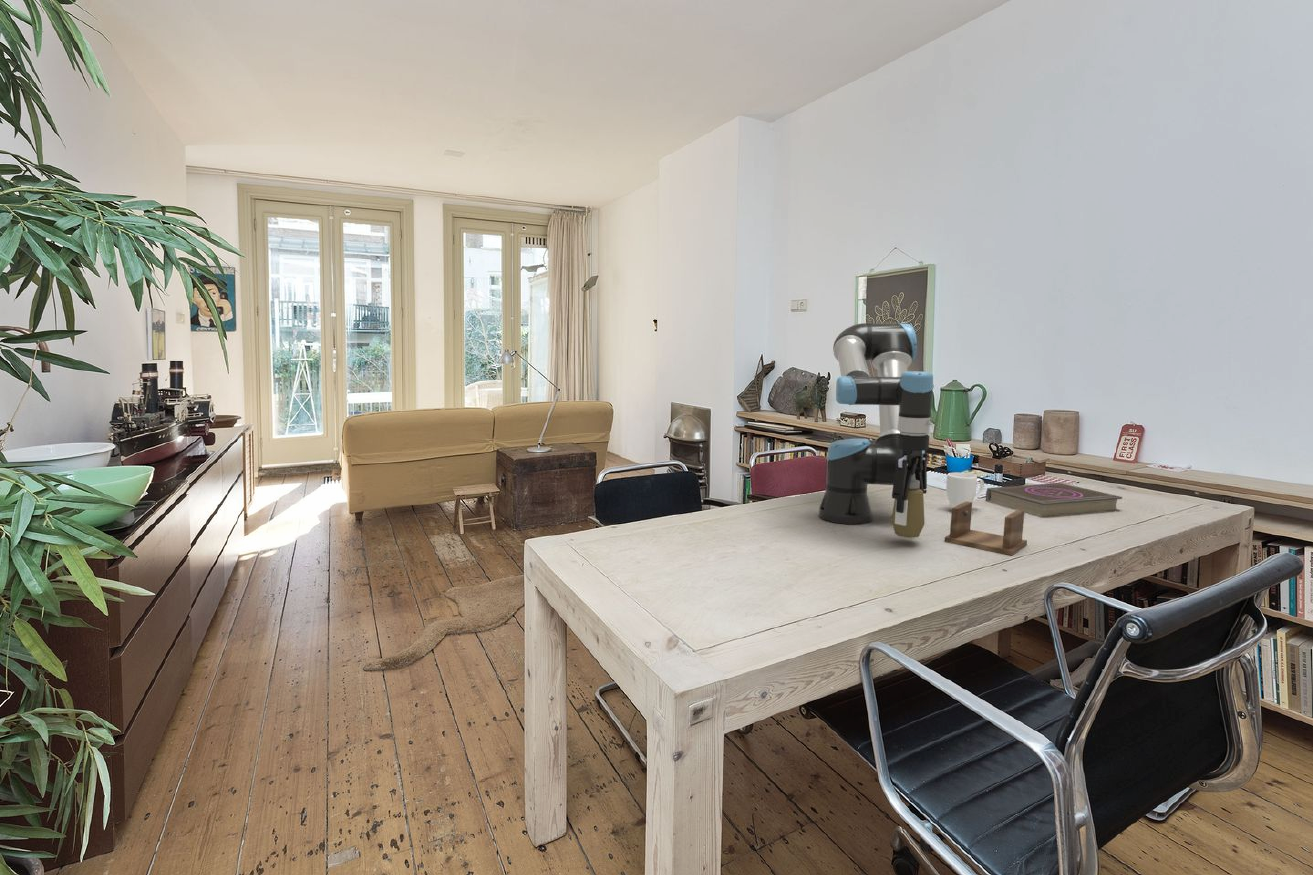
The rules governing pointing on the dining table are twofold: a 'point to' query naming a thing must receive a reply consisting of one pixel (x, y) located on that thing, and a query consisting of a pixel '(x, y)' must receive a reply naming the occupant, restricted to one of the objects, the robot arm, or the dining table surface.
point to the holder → (986, 541)
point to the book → (1052, 499)
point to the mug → (962, 488)
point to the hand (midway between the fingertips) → (907, 520)
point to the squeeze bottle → (911, 512)
